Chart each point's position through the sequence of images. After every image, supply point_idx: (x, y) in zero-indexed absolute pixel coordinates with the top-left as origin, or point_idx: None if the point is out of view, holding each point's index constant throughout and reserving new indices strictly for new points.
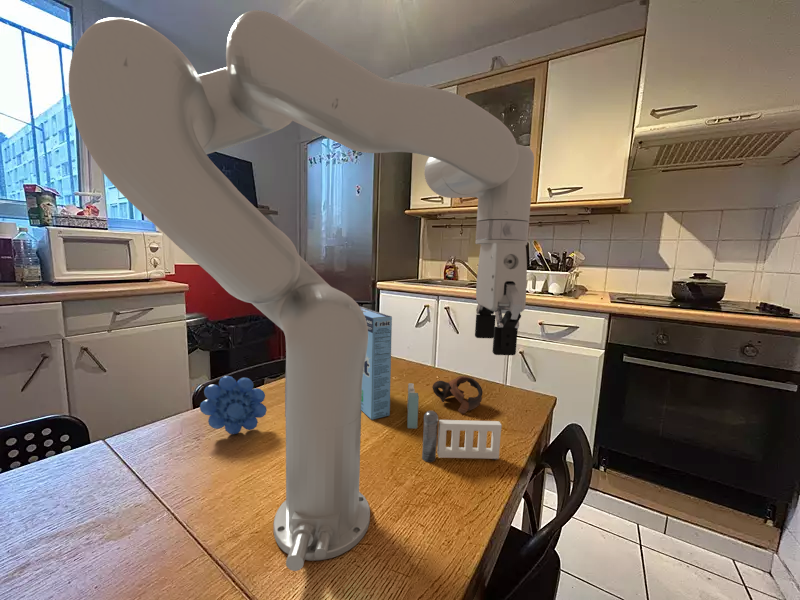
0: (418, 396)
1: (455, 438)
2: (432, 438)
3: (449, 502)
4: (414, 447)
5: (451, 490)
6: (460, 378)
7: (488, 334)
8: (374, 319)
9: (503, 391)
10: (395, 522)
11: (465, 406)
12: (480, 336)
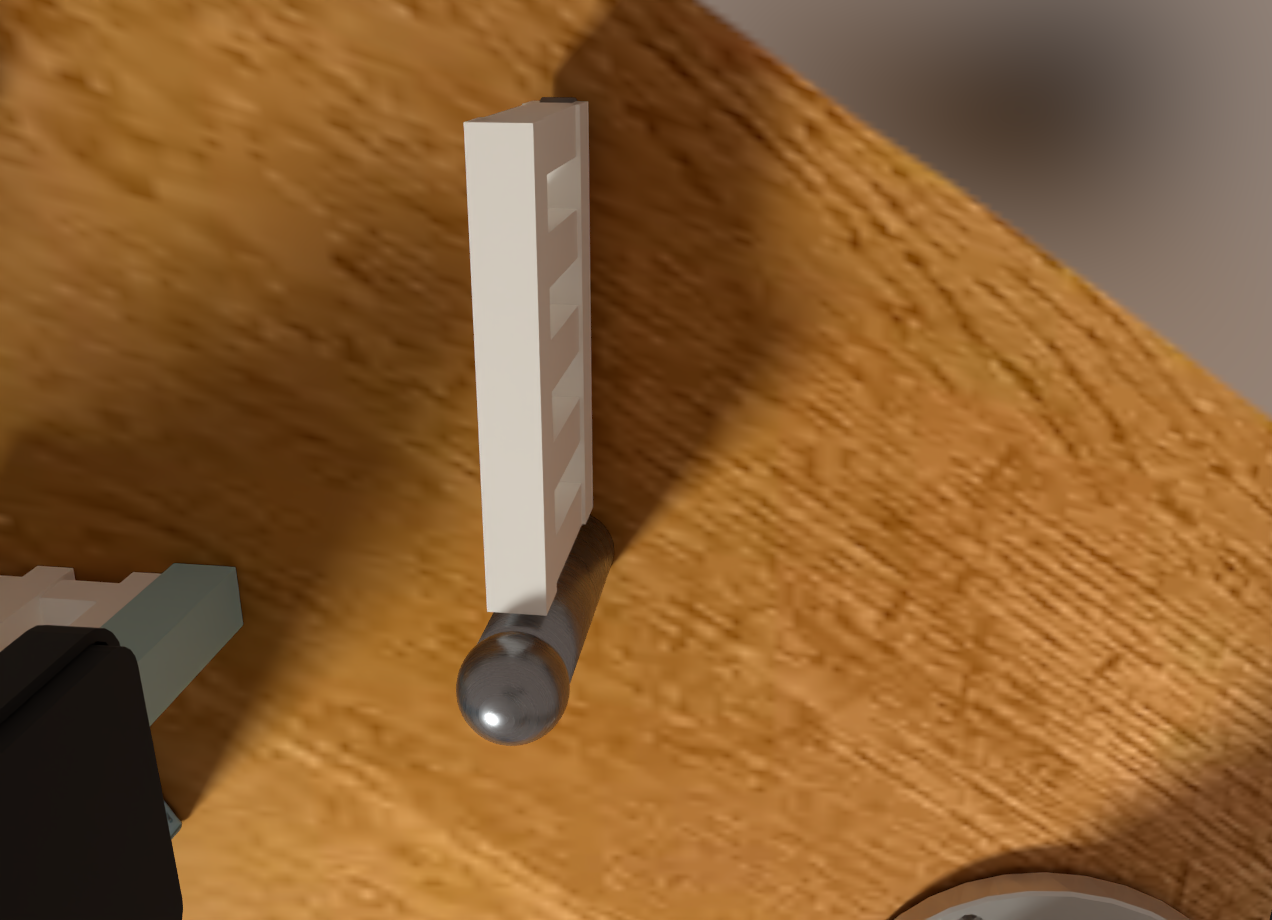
0: None
1: (561, 455)
2: (584, 613)
3: (968, 508)
4: (464, 611)
5: (873, 478)
6: None
7: (111, 776)
8: None
9: None
10: (1078, 768)
11: None
12: (162, 881)
